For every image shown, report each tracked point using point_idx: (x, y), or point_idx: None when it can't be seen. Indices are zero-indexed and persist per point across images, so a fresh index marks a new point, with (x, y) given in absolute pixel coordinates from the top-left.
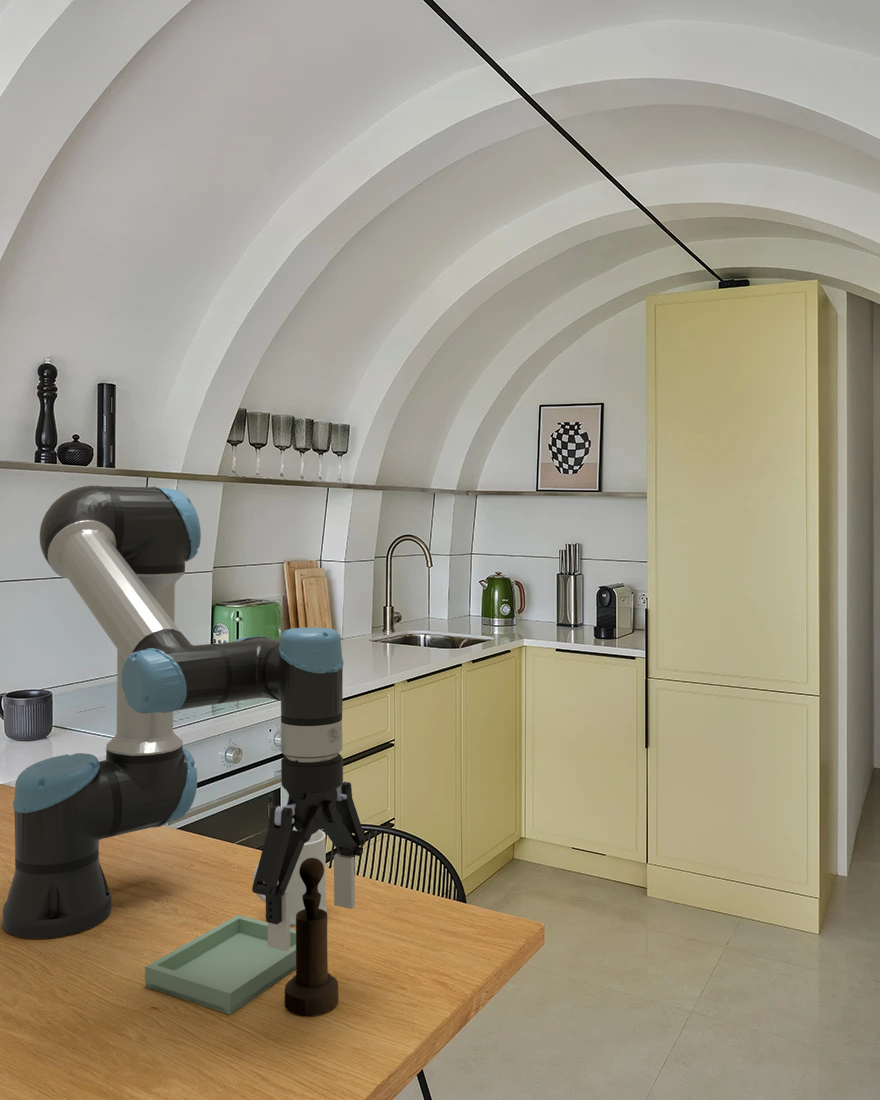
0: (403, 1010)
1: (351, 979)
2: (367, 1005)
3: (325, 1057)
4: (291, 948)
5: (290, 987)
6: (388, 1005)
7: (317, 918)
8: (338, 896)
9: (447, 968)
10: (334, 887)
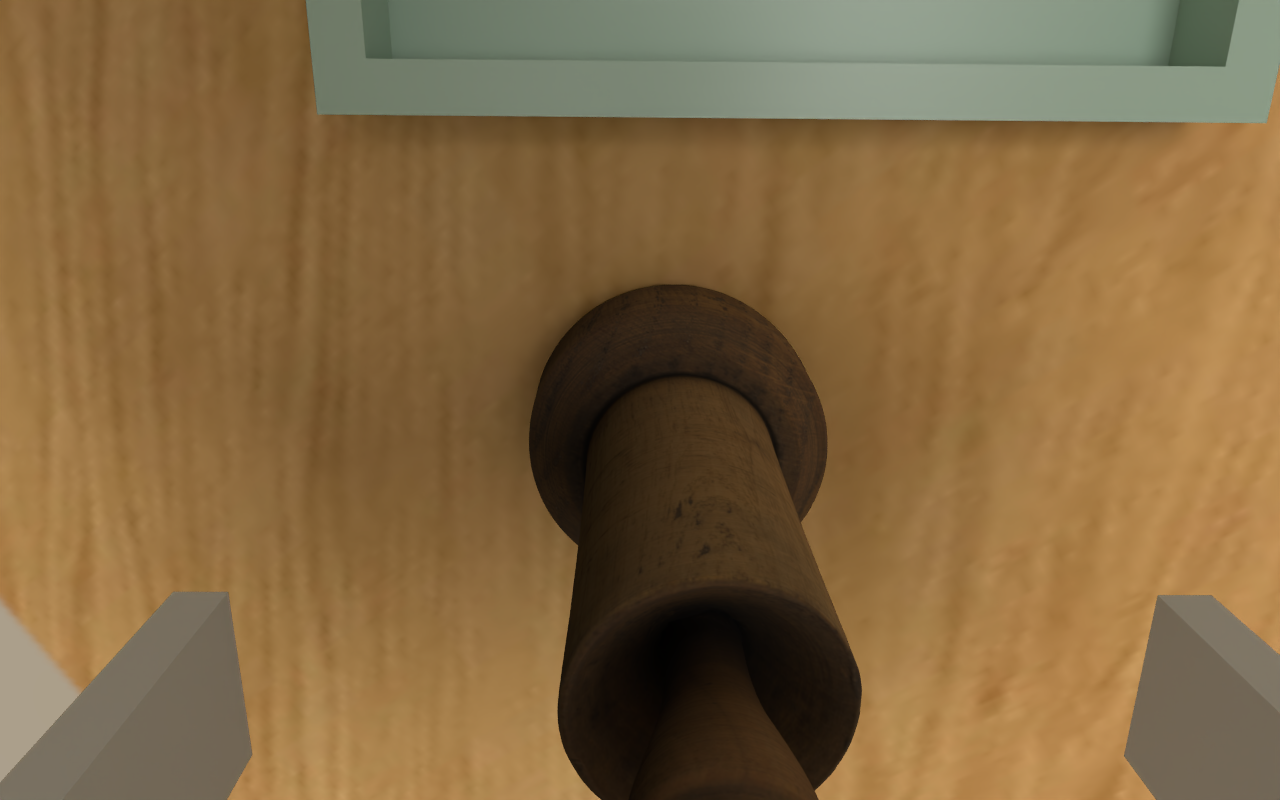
0: None
1: (974, 456)
2: None
3: (341, 700)
4: (1015, 79)
5: (568, 392)
6: None
7: (785, 676)
8: (1199, 694)
9: None
10: (1265, 704)
